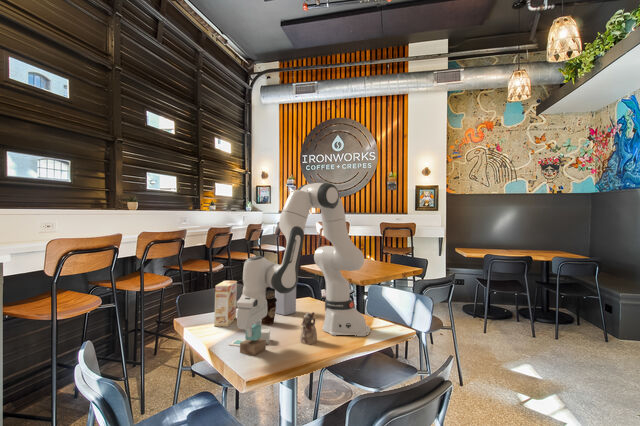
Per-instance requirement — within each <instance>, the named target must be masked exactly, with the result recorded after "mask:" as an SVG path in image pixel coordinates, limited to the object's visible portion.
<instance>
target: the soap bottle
mask: <svg viewBox="0 0 640 426" xmlns="http://www.w3.org/2000/svg"><path fill="white" fill-rule="evenodd" d="M274 296H275V298H276V299H277V301H276V311H275V314H278V315H282V316H289V315H292V314H294V313H296V311H297V286H296V287H295V288H294V289H293V290H292V291H291V292H289V293H285V294H283V293H279V292H278V291H276V290H275V289H274Z"/></svg>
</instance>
